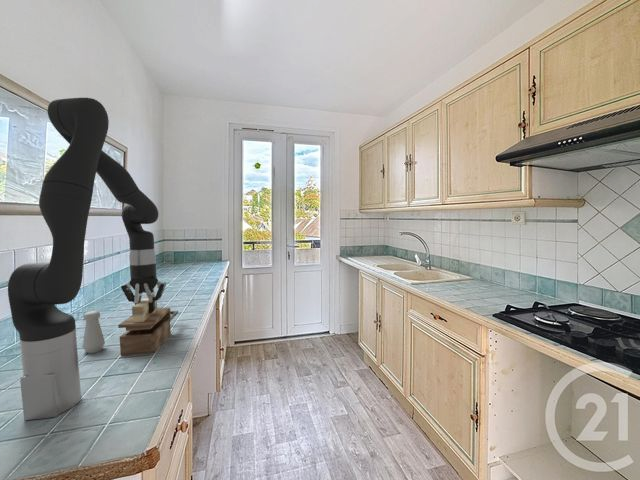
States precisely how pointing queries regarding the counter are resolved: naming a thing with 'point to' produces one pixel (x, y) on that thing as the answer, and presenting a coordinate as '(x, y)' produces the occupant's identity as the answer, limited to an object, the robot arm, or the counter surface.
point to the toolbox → (145, 339)
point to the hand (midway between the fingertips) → (145, 312)
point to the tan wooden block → (146, 316)
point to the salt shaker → (93, 333)
